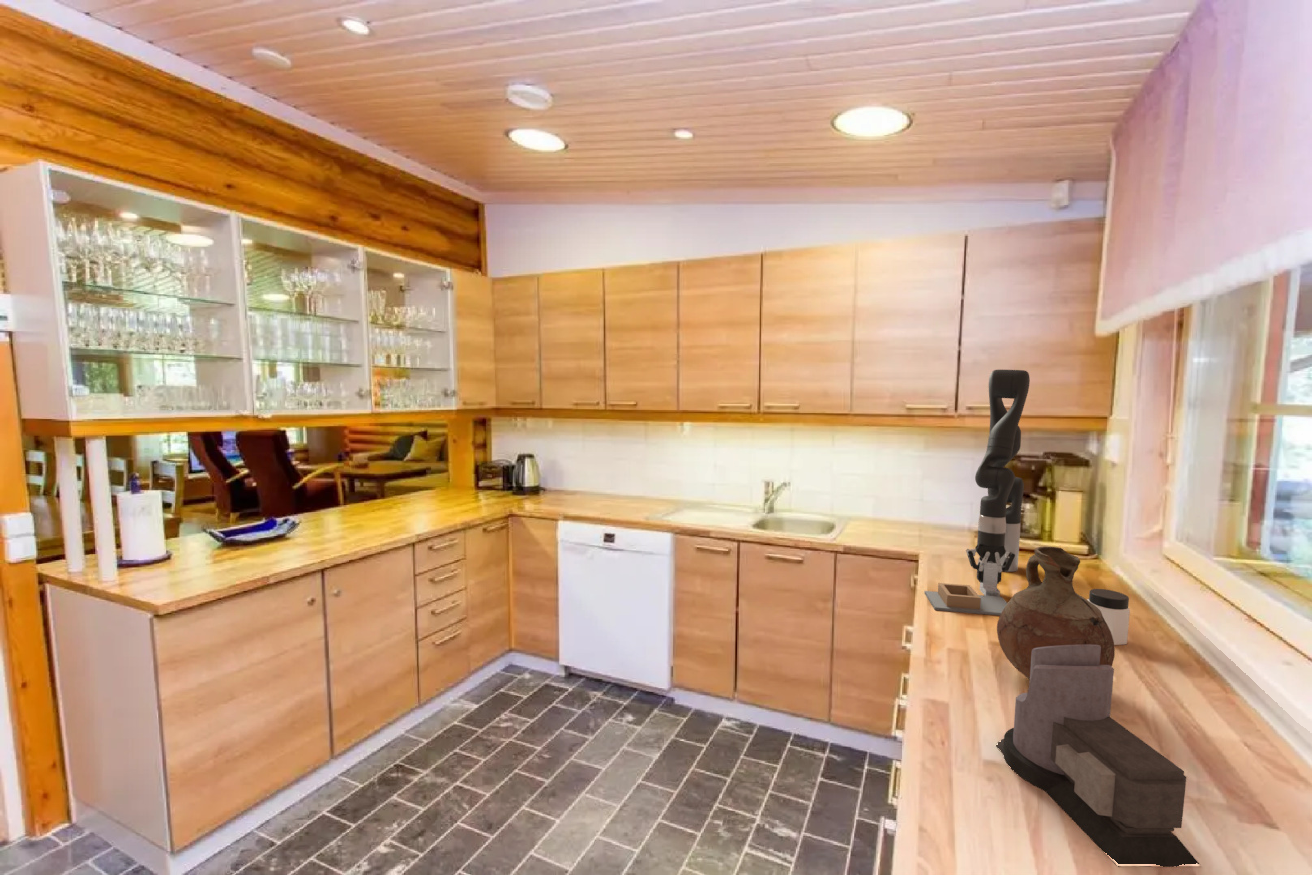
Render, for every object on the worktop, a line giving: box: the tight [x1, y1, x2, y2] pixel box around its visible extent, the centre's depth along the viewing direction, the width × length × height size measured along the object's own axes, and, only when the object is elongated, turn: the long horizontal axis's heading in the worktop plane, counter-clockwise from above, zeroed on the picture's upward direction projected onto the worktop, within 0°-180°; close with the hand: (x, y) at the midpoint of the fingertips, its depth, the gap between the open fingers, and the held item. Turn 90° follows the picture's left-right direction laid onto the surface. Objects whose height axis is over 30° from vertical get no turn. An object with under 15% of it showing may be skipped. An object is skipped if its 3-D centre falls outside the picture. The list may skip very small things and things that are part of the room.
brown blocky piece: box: [995, 644, 1200, 868], centre depth 94 cm, size 30×16×24 cm, turn 1°
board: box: [924, 582, 1008, 617], centre depth 175 cm, size 14×22×4 cm, turn 77°
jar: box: [1086, 588, 1131, 646], centre depth 152 cm, size 9×8×12 cm
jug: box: [996, 545, 1116, 680], centre depth 128 cm, size 22×22×30 cm
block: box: [979, 561, 1001, 597], centre depth 184 cm, size 6×4×10 cm, turn 167°
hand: (988, 582), depth 185 cm, fingers closed on block, 4 cm apart
